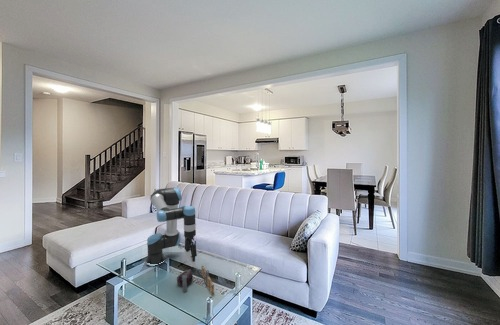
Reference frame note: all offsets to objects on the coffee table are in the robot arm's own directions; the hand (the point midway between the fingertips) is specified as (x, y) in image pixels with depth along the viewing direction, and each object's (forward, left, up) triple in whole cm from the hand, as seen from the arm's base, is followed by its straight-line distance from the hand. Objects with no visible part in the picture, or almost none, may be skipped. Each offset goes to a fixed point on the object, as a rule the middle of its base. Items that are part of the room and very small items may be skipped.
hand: (190, 263), depth 152 cm
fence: (+5, +11, -19) cm, 23 cm away
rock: (-11, -2, -20) cm, 22 cm away
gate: (-10, +12, -19) cm, 24 cm away
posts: (-2, +3, -19) cm, 20 cm away
